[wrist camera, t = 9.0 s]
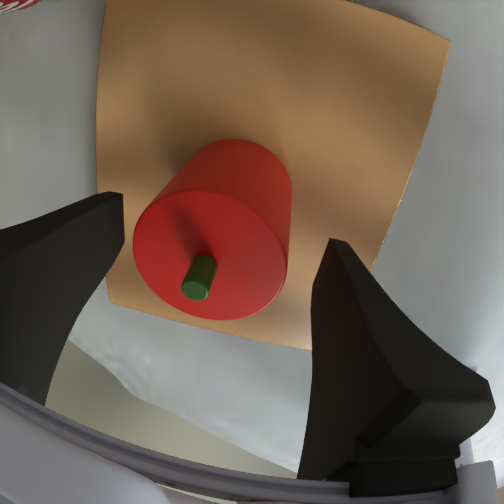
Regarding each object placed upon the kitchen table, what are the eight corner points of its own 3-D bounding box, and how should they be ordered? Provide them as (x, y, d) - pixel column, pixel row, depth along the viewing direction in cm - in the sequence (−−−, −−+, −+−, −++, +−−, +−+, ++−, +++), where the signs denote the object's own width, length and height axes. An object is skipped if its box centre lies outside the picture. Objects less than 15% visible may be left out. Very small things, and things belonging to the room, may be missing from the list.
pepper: (278, 250, 15) (264, 362, 10) (179, 228, 15) (122, 326, 10) (304, 152, 12) (307, 235, 7) (187, 130, 12) (108, 194, 7)
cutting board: (327, 336, 20) (328, 354, 19) (119, 287, 20) (109, 302, 19) (437, 41, 10) (452, 40, 9) (125, -14, 10) (108, -18, 9)
